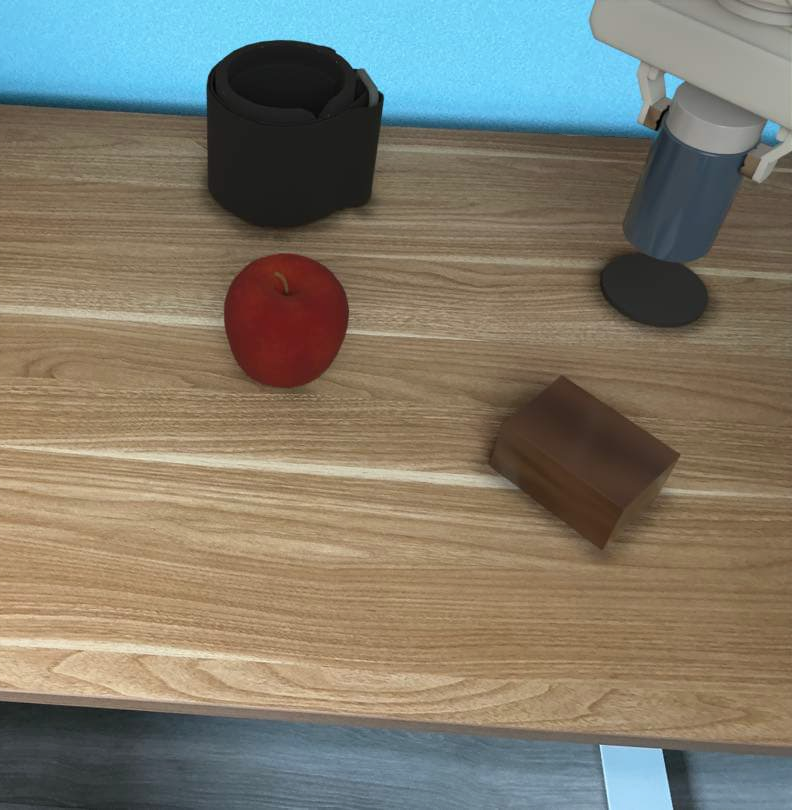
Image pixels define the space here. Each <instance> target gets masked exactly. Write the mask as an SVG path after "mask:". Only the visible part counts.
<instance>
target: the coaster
mask: <svg viewBox="0 0 792 810" xmlns="http://www.w3.org/2000/svg"><path fill="white" fill-rule="evenodd" d="M599 284H600V290H601V292H602V295H603V297H604V298H605V300H606V301H607V303H608V304H610V306H612V308H613V309H615V310H616V311H617V312H618V313H620V314H621V315H623V316H624V317H626V318H628V319H630V320H632V321H634V322H636V323H640V324H642V325H646V326H651V327H656V328H666V329H669V328H670V329H671V328H672V329H673V328H680V327H684V326H688V325H690V324H692V323H694V322H696V321H697V320H698V319H700V318H701V317H702V316H703V314H704V313H705V311H706V310H707V307H708V304H709V293H708V289H707V286H706V285H705V283H704V282H703V280H702V279H701V277H699V276H698V275H697V273H695V272H694V271H693V270H692V269H690V268H689V267H687V266H686V265H684V263H682V262H668V261H663V260H659V259H656V258H653V257H651V256H648V255H646V254H644V253H642V252H641V253H639V252H637V253H629V254H624V255H621V256H618V257H616V258H614V259H612V260H611V261H609V263H607V264H606V266H605V267H604V268H603V271H602V274H601V276H600V283H599Z"/></svg>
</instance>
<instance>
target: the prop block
mask: <svg viewBox="0 0 792 810" xmlns="http://www.w3.org/2000/svg"><path fill="white" fill-rule="evenodd" d="M495 443H496V444H495V447H494V450H493V452H492V456H491V458H490V461H489V467H490V468H492V469H493V470H494V471H496V472H497V473H498V474H500V475H501V476H502V477H503V478H505V479H506V480H507V481H509V482H510V483H512V484H513V485H514V486H516V487H517V488H518V489H520V490H521V491H522V492H524V493H525V494H526V495H527V496H529V497H530V498H531V499H533V500H534V501H535V502H537V503H538V504H540V506H542V507H543V508H545V509H546V510H548V511H549V512H550V513H551V514H552V515H554V516H555V517H557V518H558V519H559V520H560V521H562V522H563V523H564V524H566V525H567V526H568V527H570V528H571V529H573V530H574V531H575V532H577V533H578V534H579V535H580V536H582V537H583V538H584V539H586V540H587V541H588V542H590V543H591V544H593V545H594V546H595V547H597V548H598V549H599V550H601V551H604V550H605V549H606V548H607V547H608V546H609V545H610V544H611V543H612V542H613V541H614V540H615V539H616V538H617V537H618V536H619V535H620V534H621V533H622V532H623V531H624V530H625V529H626V528H627V527H629V525H630V524H632V523H633V522H634V520H636V519H637V518H638V517H639V516H640V514H642V513H643V512H644V511H645V510H646V509H647V508H648V507H649V506H650V505H651V504H652V503H653V502H654V501H655V500H656V499H657V498H658V497H659V495H660V494H661V491H662V490H663V488H664V486H665V484H666V482H667V481H668V479H669V477H670V475H671V473H672V472H673V470H674V469H675V466H676V465H677V463H678V461H679V459H680V457H681V455H682V454H681V452H680V453H679V452H678V451H677V450H675V449H674V448H672V447H671V446H670V445H667V444H666V443H665V442H663V441H662V440H660V439H659V438H657V437H656V436H654V435H653V434H651V433H650V432H648V431H646V430H645V429H644V428H642V427H641V426H640V425H638V424H637V423H635V422H633V421H631V420H630V419H629V418H628V417H626V416H624V415H623V414H621V413H620V412H618V411H617V410H615V409H614V408H613V407H611V406H609V405H608V404H606V403H605V402H604V401H602V400H601V399H599V398H597V397H596V396H594V395H593V394H591V393H590V392H588V391H587V390H585V389H584V388H583V387H581V386H579V385H578V384H576V383H575V382H574V381H572V380H571V379H569V378H567V377H566V376H565V375H560V376H559V377H557V378H556V379H555V380H554V381H553V382H552V383H550V384H549V385H547V386H546V387H545V388H544V389H543V390H541V391H540V392H539V393H538V394H537V395H535V396H534V397H533V398H532V399H530V400H529V401H528V402H527V403H525V404H524V405H523V406H522V407H520V408H519V409H517V411H516V412H514V413H513V414H512V415H510V417H508V418H507V419H506V420H504V421H503V423H502V426H501V427H500V432H499V435H498V437H497V440H496V442H495Z"/></svg>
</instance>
